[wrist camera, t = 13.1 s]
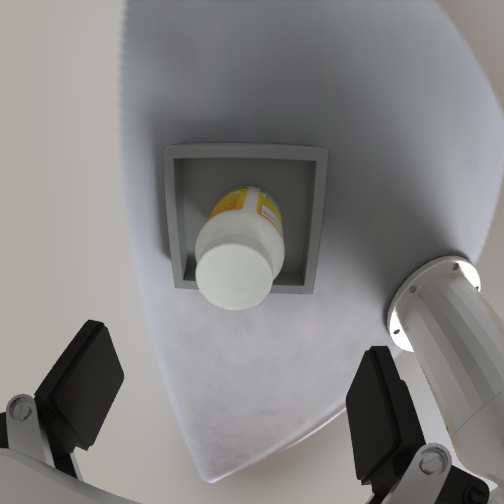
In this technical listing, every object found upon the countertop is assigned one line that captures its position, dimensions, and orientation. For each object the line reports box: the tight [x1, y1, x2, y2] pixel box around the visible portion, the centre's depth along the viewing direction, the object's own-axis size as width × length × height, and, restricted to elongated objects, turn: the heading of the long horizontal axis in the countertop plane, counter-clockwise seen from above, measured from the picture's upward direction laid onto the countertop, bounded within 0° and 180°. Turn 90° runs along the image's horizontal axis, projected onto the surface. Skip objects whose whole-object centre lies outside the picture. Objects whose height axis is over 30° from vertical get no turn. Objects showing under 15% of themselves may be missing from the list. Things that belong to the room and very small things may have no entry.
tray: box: [162, 143, 329, 294], centre depth 22 cm, size 12×12×3 cm
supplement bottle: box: [195, 186, 284, 310], centre depth 19 cm, size 5×5×10 cm
